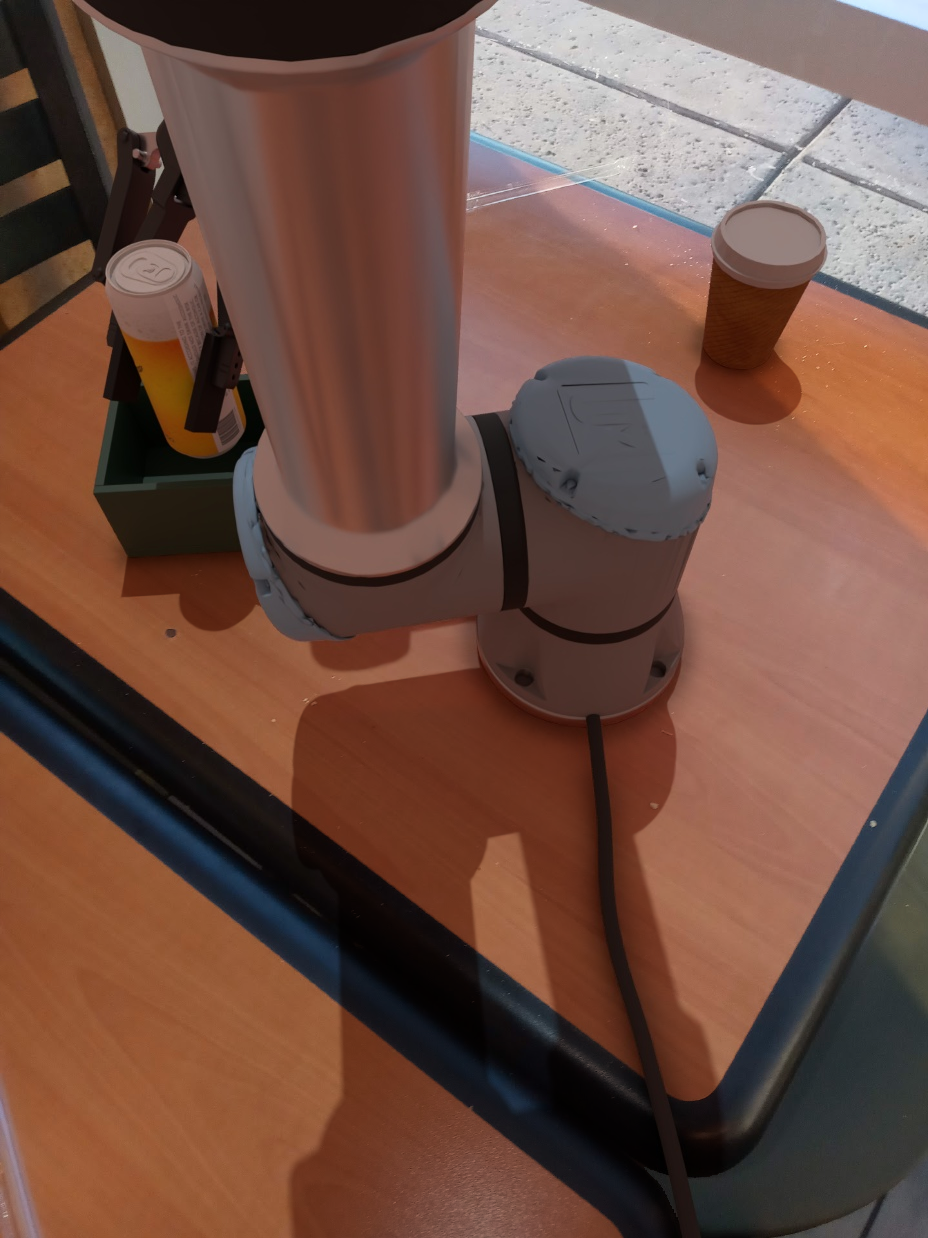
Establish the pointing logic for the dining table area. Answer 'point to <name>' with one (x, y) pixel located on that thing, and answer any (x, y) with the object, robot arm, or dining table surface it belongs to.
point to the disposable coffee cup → (758, 278)
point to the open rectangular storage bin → (168, 483)
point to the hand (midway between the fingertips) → (159, 414)
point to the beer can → (170, 338)
